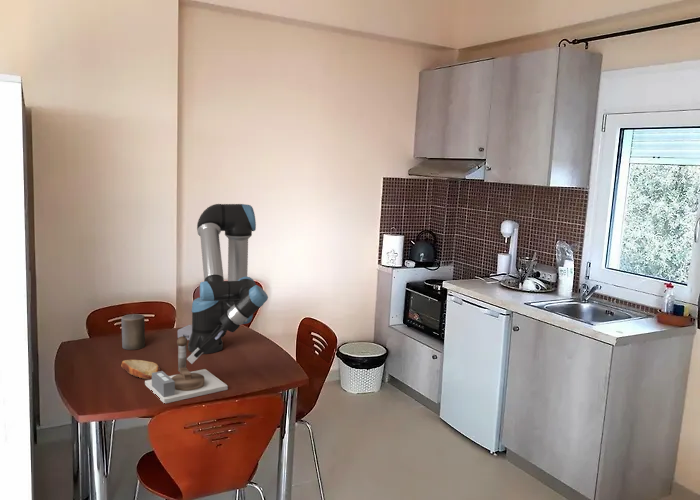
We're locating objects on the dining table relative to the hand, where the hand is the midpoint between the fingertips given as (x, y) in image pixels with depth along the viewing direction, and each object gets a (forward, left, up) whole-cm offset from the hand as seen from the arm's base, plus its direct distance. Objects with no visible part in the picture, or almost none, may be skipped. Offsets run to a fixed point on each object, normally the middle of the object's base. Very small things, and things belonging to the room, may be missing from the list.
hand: (189, 360), depth 230 cm
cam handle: (+5, -3, -6) cm, 9 cm away
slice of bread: (-19, -13, -8) cm, 24 cm away
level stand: (+6, -4, -8) cm, 11 cm away
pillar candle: (-49, -6, -8) cm, 50 cm away
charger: (-51, +24, -8) cm, 57 cm away
